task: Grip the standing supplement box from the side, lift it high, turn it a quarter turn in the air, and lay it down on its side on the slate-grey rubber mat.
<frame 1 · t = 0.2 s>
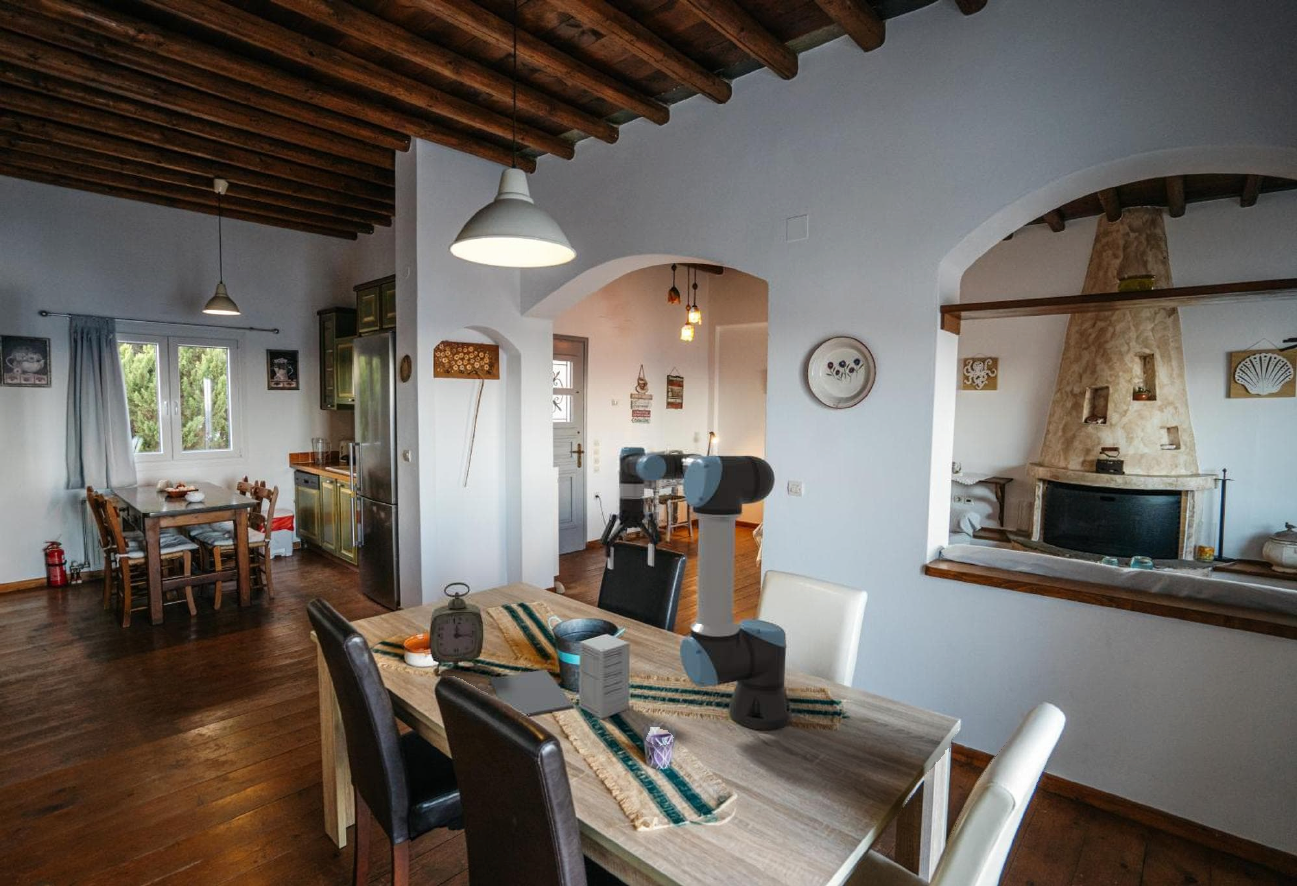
hand: (630, 566, 194), 27 cm above the table, tool pointing down, fingers open, 13 cm apart
tabletop clock: (456, 668, 182), on the table
mat: (529, 693, 167), on the table
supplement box: (603, 708, 160), on the table
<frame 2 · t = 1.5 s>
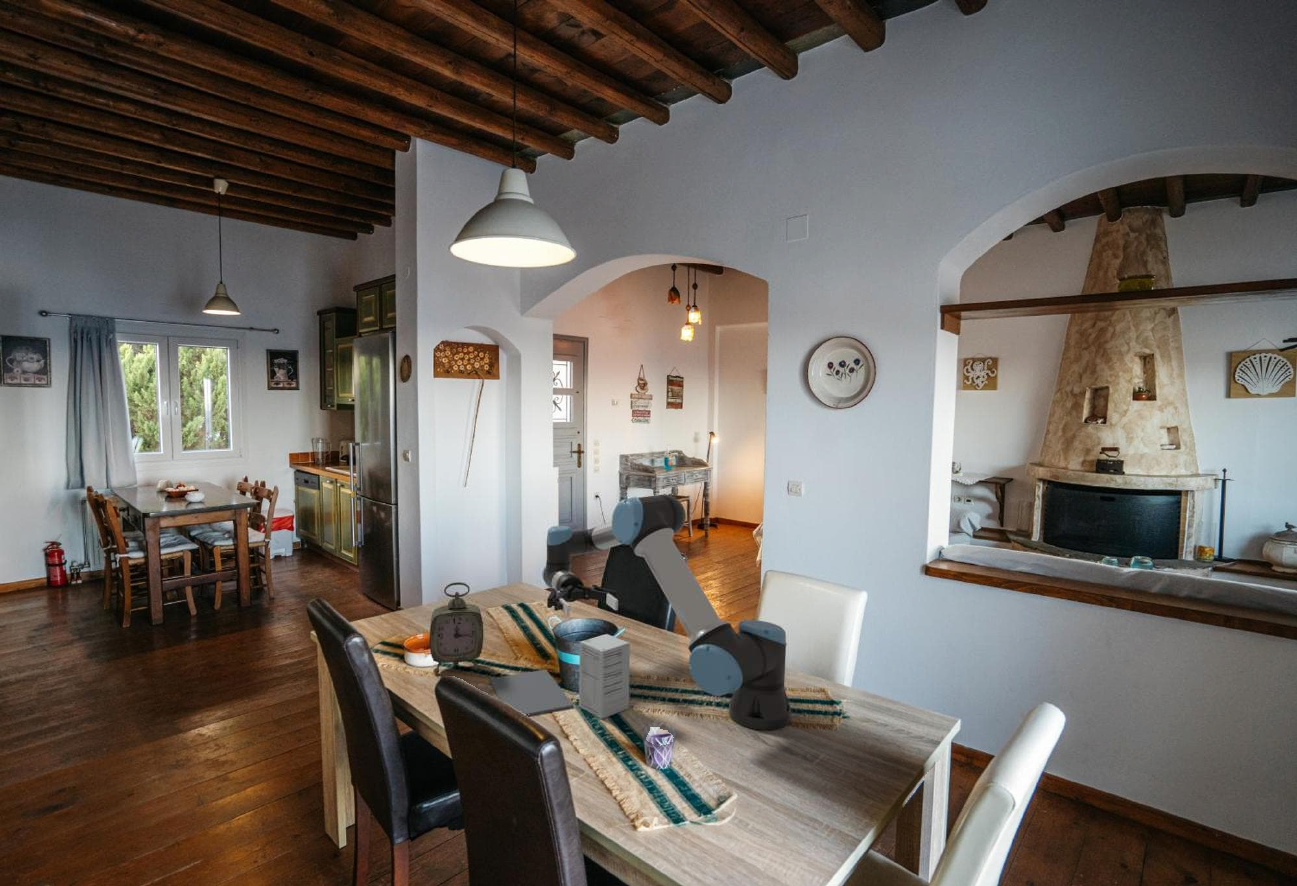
hand: (592, 608, 168), 23 cm above the table, tool horizontal, fingers open, 13 cm apart
nothing on the table moved.
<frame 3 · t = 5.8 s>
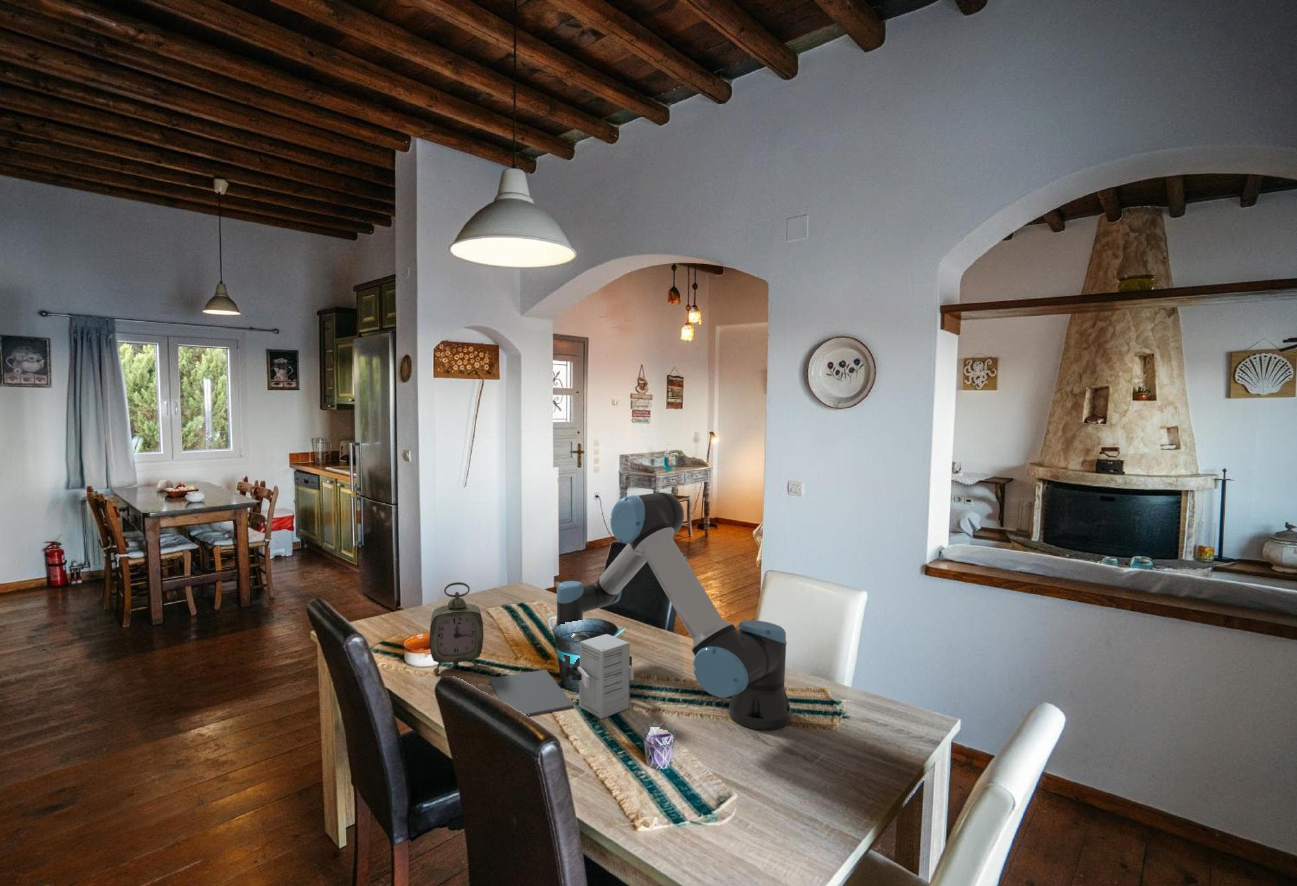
hand: (610, 678, 156), 9 cm above the table, tool horizontal, fingers closed on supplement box, 11 cm apart
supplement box: (603, 708, 160), on the table, touching gripper
everything else where it was.
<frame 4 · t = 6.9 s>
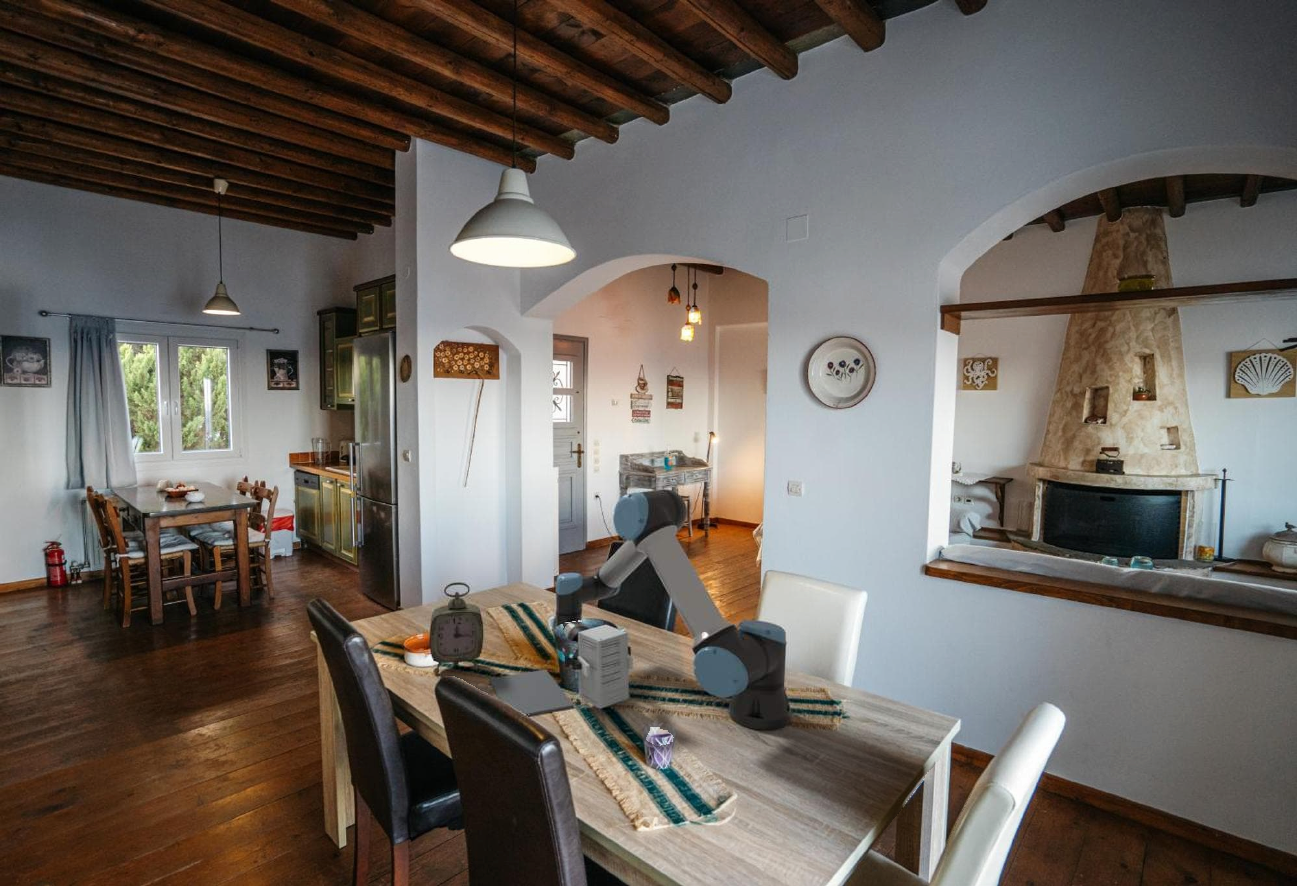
hand: (610, 667, 156), 12 cm above the table, tool horizontal, fingers closed on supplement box, 11 cm apart
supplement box: (603, 698, 160), point 2 cm above the table, touching gripper
everything else where it was.
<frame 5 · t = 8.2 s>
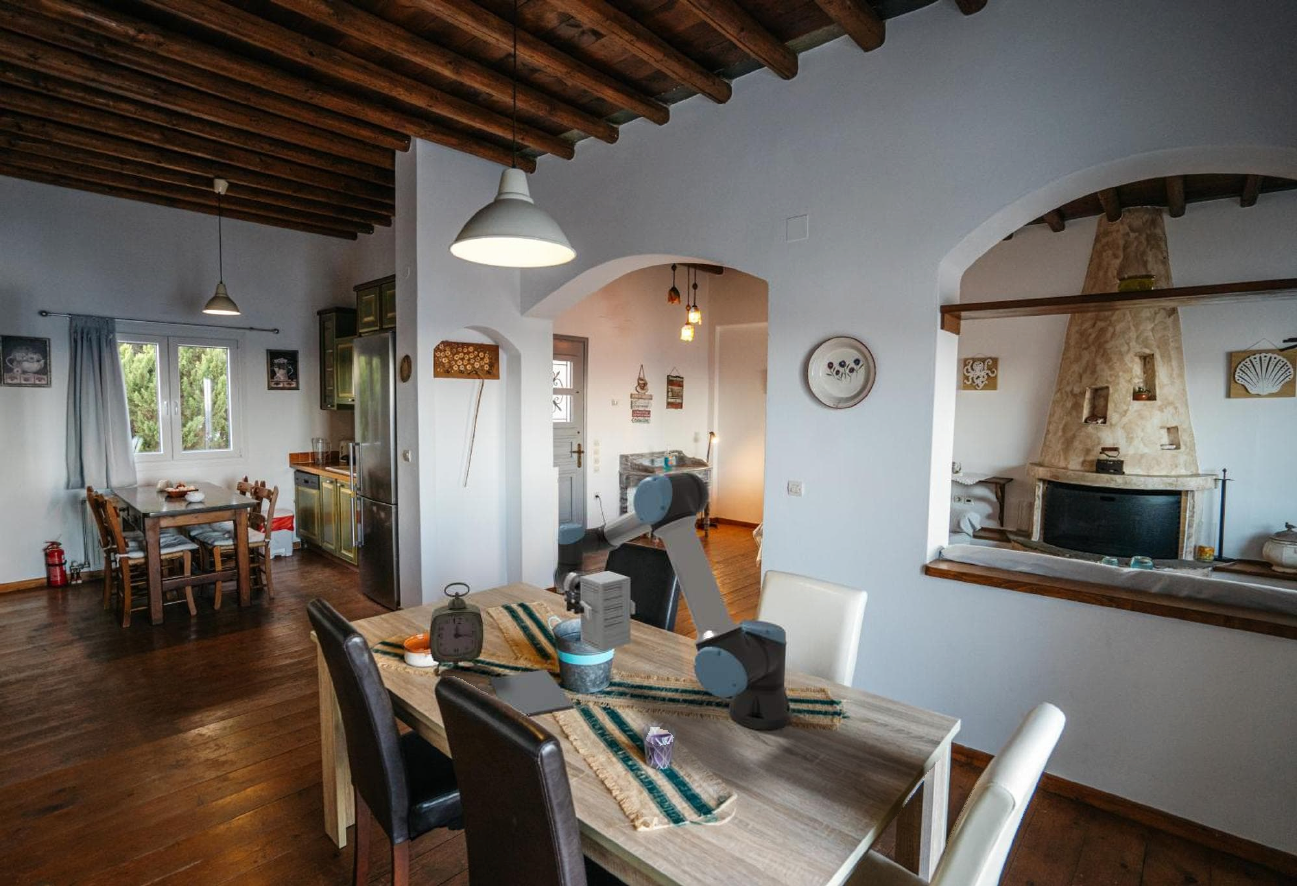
hand: (612, 611, 155), 26 cm above the table, tool horizontal, fingers closed on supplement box, 11 cm apart
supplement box: (605, 643, 159), point 16 cm above the table, touching gripper
everything else where it was.
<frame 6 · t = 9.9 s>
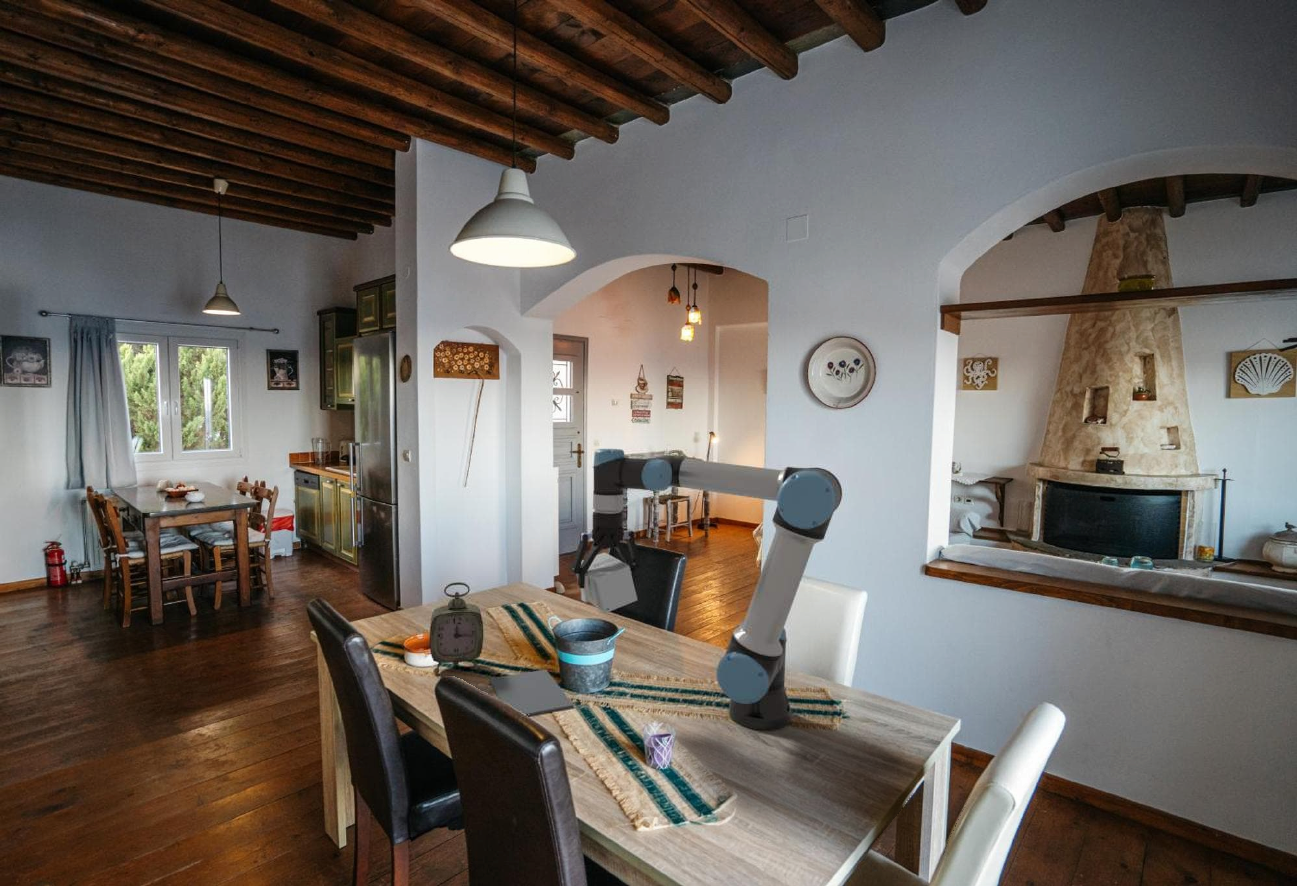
hand: (606, 598, 159), 28 cm above the table, tool pointing down, fingers closed on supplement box, 11 cm apart
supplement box: (593, 573, 167), point 32 cm above the table, touching gripper
everything else where it was.
when the fingers open (3 cm above the table, at t = 16.1 s): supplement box drops 1 cm, resting on mat.
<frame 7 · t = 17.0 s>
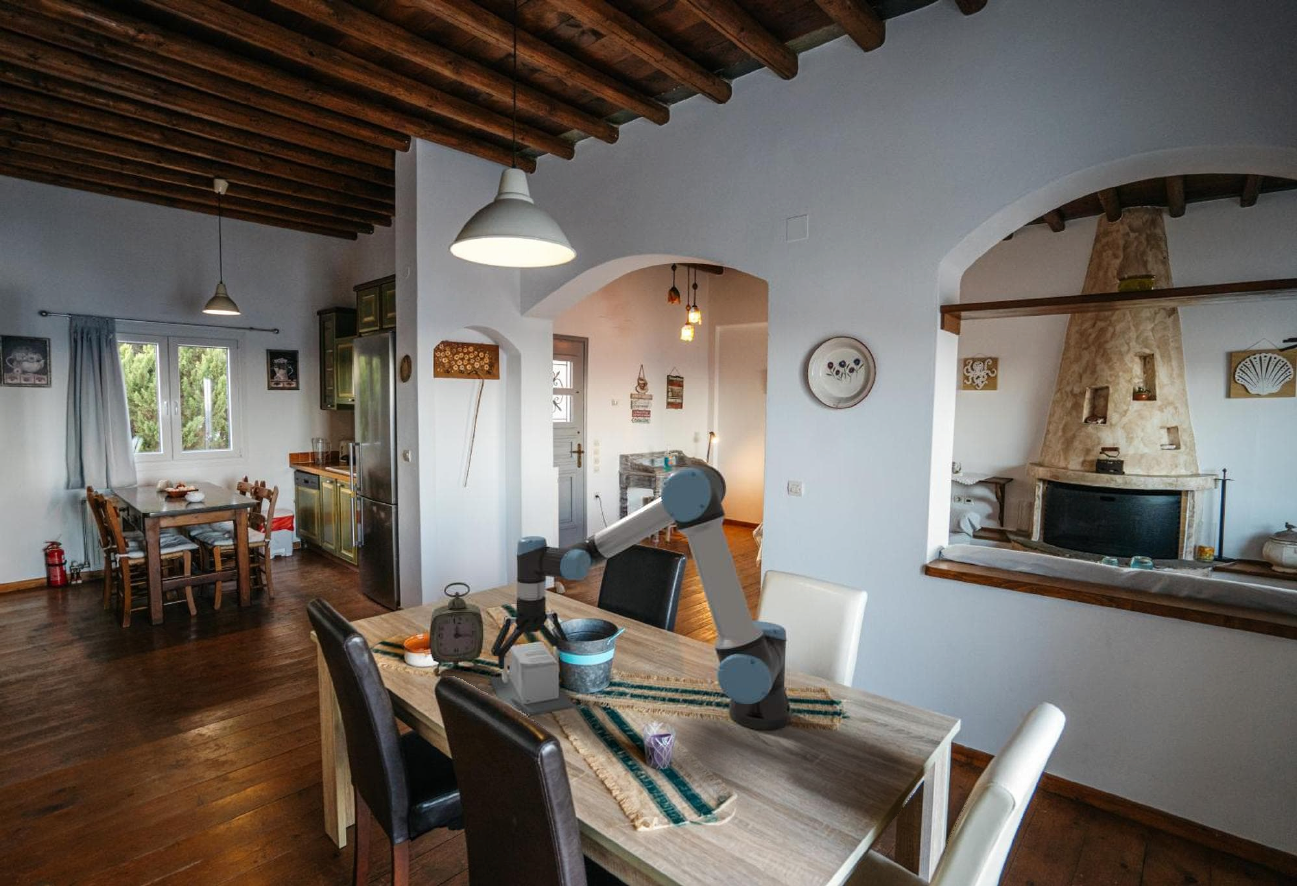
hand: (530, 676, 167), 5 cm above the table, tool pointing down, fingers open, 13 cm apart
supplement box: (525, 659, 176), point 6 cm above the table, touching mat
everything else where it was.
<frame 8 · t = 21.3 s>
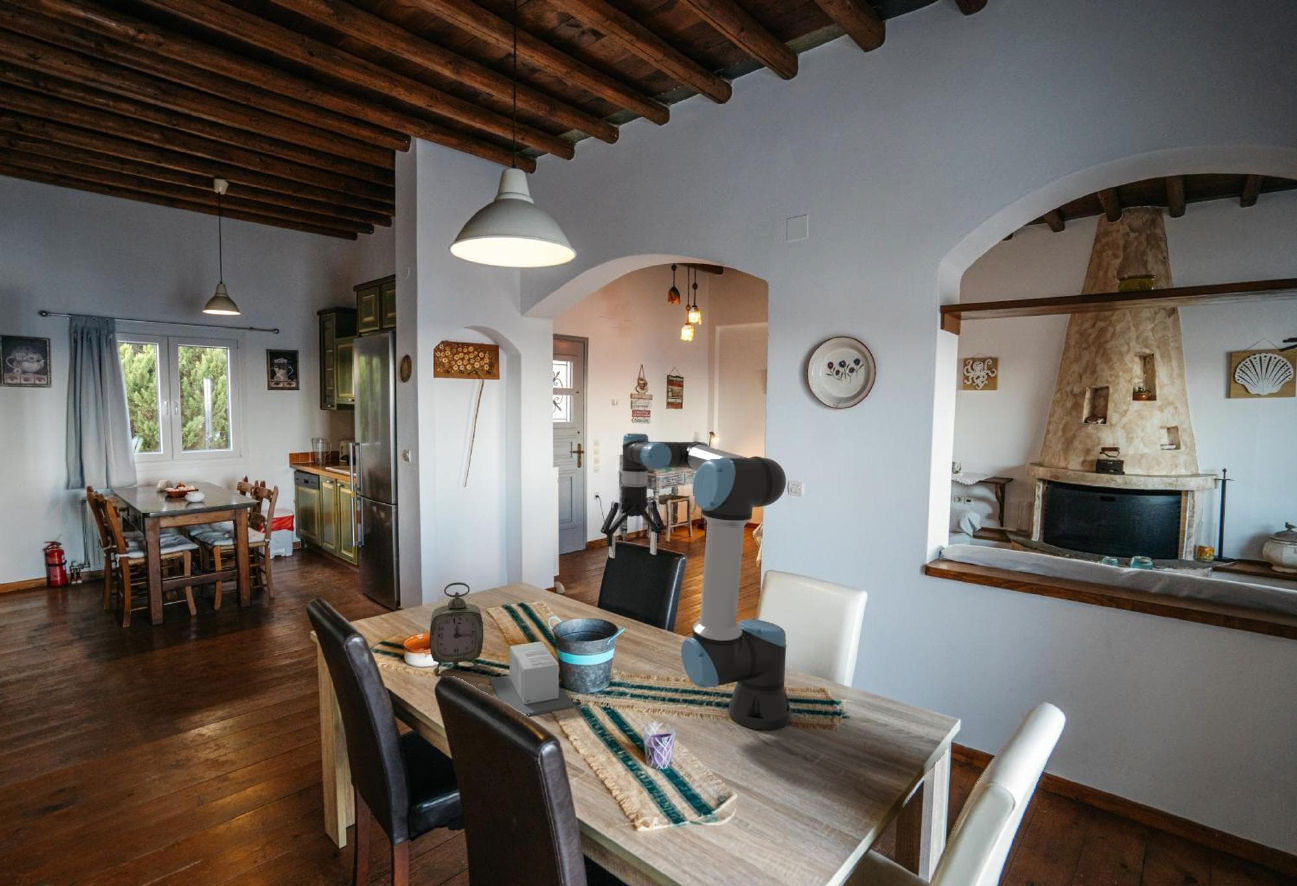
hand: (632, 555, 190), 32 cm above the table, tool pointing down, fingers open, 13 cm apart
nothing on the table moved.
at the end: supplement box tilted 91°; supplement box touching mat; the gripper is holding nothing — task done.
